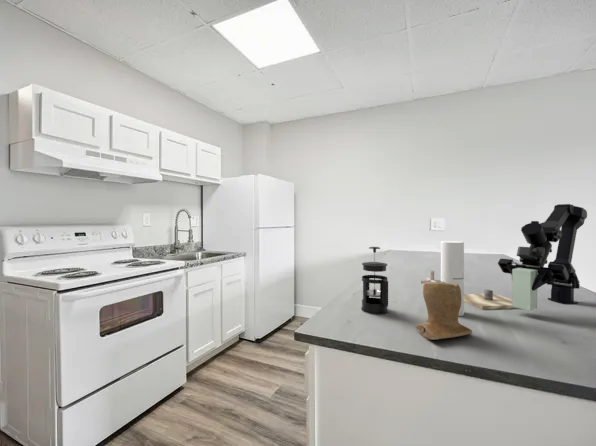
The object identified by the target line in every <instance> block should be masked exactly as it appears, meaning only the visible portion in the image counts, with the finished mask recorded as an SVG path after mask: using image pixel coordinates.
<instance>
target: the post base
mask: <svg viewBox="0 0 596 446" xmlns="http://www.w3.org/2000/svg"><path fill="white" fill-rule="evenodd" d="M493 292H494V291H493V290H492V289H484V291H483V293H467V294H466V293H464V303H465V304H469V305H471V306H473V307H476V308H477V309H480V310H505V309H508V310H509V309H510V310H511V309H517V308H516V307H512V298H508V297H505V296H503V295H500V294H497V293H493Z"/></svg>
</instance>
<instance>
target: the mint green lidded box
mask: <svg viewBox="0 0 596 446" xmlns="http://www.w3.org/2000/svg"><path fill="white" fill-rule="evenodd" d="M537 275H538V270H533V269H526V268H516V269H512V275H511V284H512V285H511V299H512V307H516V308H515V309H520V310H526V311H529V312H531V311H534V310H536V309H538V289H539V288H538V289H536V290H534V291H533V290H532V286H533V283H534V281H535V279H536V277H537Z"/></svg>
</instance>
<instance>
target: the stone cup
mask: <svg viewBox="0 0 596 446" xmlns="http://www.w3.org/2000/svg"><path fill="white" fill-rule="evenodd" d="M422 287H423V288H422V294H423V295H422V296H423V298H424V302H425V306H426V311H427V315H428V318H427V320H426V321H425V322H422V323H418V324H416V325H415V327H416V329H417V330H418V332H419V333H420V335H422V336H423V337H424V338H425V339H427V340H430V341H431V340H433V341H435V340H436V341H437V340H444V339H451V338H456V337H462V336H467V335H470V334H472V333H473V330H472V329H470V328H469V327H467V326H465V325H463V324H461V323H460V322H459V316H458V315H459V310H460V307H461V300H462V299H461V290H460V286H459V285H458V284H455V283H444V282H425V283H424V284H423V286H422Z"/></svg>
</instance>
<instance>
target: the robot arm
mask: <svg viewBox="0 0 596 446" xmlns="http://www.w3.org/2000/svg"><path fill="white" fill-rule="evenodd" d="M587 217H588V211H587V210H586V209H585V208H584V207H581V206H576V205H574V204H570V203H565V204H564V203H563V204H561V203H560V204H555V205H554V207H553V210H552V212H551V213H550V214H549V216H548V217H547V218H546V219H545V220H544V221H543V222H539V220H531V221H530V223H527V224H524V225H523V226H522V227H521V229H520V231H521V233H522V235H523V238H524V239H525V241H526V243H527V244H529V246H518V247H517V251H516V256H517V257H519V262H520V263H518V262H516V261H514V259H513V258H511V259H510V258H503V257H502V258H500V259H498V262H497V264H498V266H499V268H500V270H501V272H503V273H504V274H508V275H509V274H510V275H511V276H512V269H516V268H526V269H533V270H538V275H537V277H536V279H535V281H534V283H533V286H532V290H533V291H534V290H536V289H539V288H541V287H542V286H544V285H547V286H551V289H550V297H547V300H550V301H553V302H556V303H561V304H567V305H568V304H579V302H578V301H577V300H576V301H575V300H574V299H575V296H574V295H575V292H574V291H575V289H578V290H579V289H580V282H581V281H580V280H579V278H578V276H577V273H576V269H575V267H574V266H573V264H572V261H573V255H574V248H575V243H576V237H577V232H578V230H579V229H580V228H581V227H583V225H585V224H584V223H585V220H586V219H587ZM557 242H558V245H557V249H556V255H555V259H554V260H553V261H549V262H548V257H549V254H550V253H552V252H553V249H552V247H553V244H552V243H557ZM547 264H548V265H547ZM545 265H547V267H545Z"/></svg>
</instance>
